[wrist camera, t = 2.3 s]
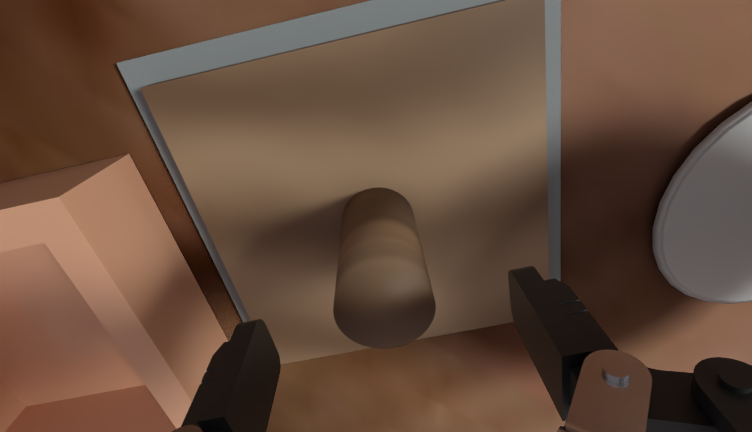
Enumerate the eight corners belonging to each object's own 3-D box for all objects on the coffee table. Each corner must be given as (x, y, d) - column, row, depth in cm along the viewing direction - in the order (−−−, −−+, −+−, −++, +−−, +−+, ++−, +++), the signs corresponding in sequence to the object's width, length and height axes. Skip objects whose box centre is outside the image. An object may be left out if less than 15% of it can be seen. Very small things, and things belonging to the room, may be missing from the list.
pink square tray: (-155, 217, 18) (-299, 276, 14) (129, 153, 17) (59, 196, 13) (30, 411, 25) (-34, 489, 21) (245, 372, 24) (221, 446, 20)
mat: (120, 62, 16) (116, 62, 15) (557, -46, 14) (560, -47, 14) (266, 362, 23) (265, 367, 23) (558, 309, 22) (560, 313, 22)
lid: (152, 83, 16) (15, 132, 10) (533, -8, 15) (659, -21, 8) (276, 351, 23) (243, 481, 16) (541, 303, 21) (614, 422, 15)
